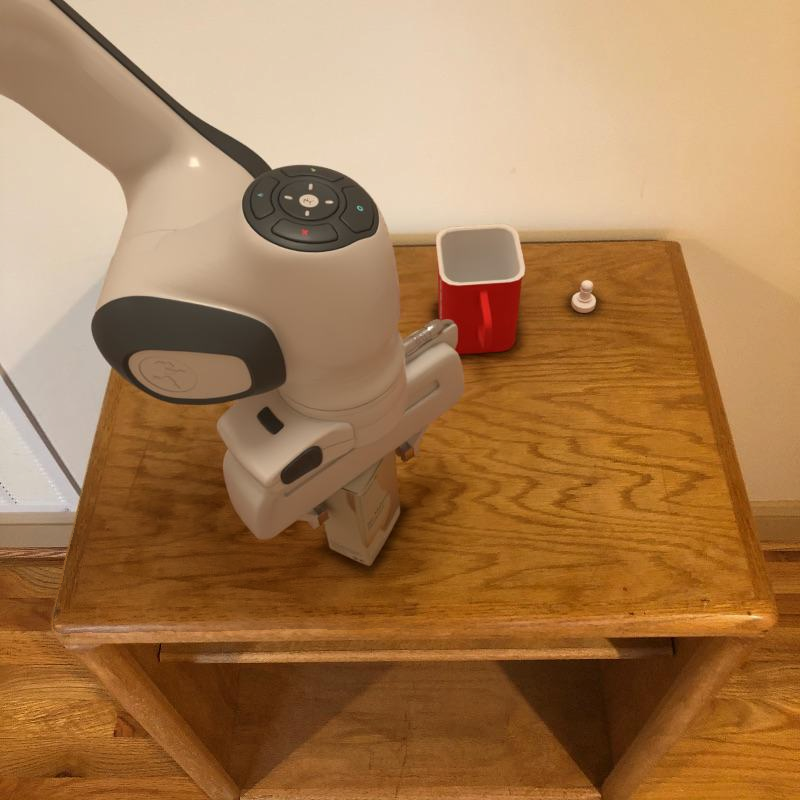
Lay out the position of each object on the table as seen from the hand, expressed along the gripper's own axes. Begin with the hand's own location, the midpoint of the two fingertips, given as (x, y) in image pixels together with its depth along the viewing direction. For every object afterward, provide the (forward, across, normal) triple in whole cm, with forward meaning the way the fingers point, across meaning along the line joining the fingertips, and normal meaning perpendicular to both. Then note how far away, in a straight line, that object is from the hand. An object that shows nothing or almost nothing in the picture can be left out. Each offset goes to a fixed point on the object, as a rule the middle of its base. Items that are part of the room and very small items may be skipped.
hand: (362, 485), depth 65 cm
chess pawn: (+8, -35, -6) cm, 36 cm away
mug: (+8, -23, -10) cm, 26 cm away
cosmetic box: (+8, 0, 0) cm, 8 cm away
